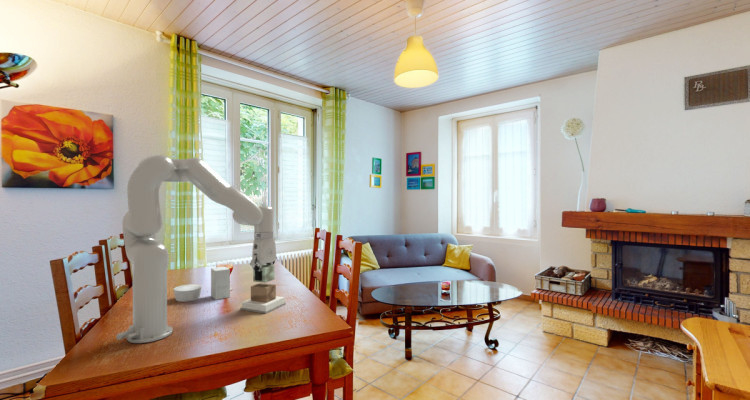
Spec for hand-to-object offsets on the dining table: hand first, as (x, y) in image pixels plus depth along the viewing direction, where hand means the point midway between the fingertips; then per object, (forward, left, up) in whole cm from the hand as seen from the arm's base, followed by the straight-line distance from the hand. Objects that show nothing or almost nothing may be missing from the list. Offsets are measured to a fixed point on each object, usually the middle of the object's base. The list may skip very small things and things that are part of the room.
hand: (263, 278), depth 143 cm
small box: (+4, +28, -12) cm, 31 cm away
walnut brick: (0, 0, -9) cm, 9 cm away
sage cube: (0, 0, -1) cm, 1 cm away
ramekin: (-4, +39, -12) cm, 41 cm away
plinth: (0, 0, -12) cm, 12 cm away
